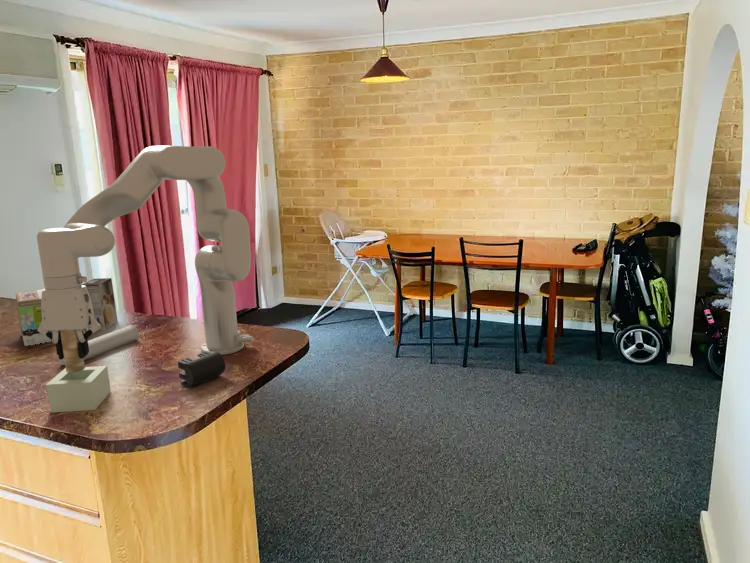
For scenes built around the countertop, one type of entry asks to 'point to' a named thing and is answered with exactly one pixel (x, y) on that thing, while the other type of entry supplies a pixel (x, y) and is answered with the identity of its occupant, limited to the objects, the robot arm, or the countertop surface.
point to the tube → (110, 341)
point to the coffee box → (102, 301)
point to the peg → (71, 351)
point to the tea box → (30, 317)
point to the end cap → (201, 368)
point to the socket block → (78, 389)
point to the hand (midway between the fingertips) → (73, 356)
